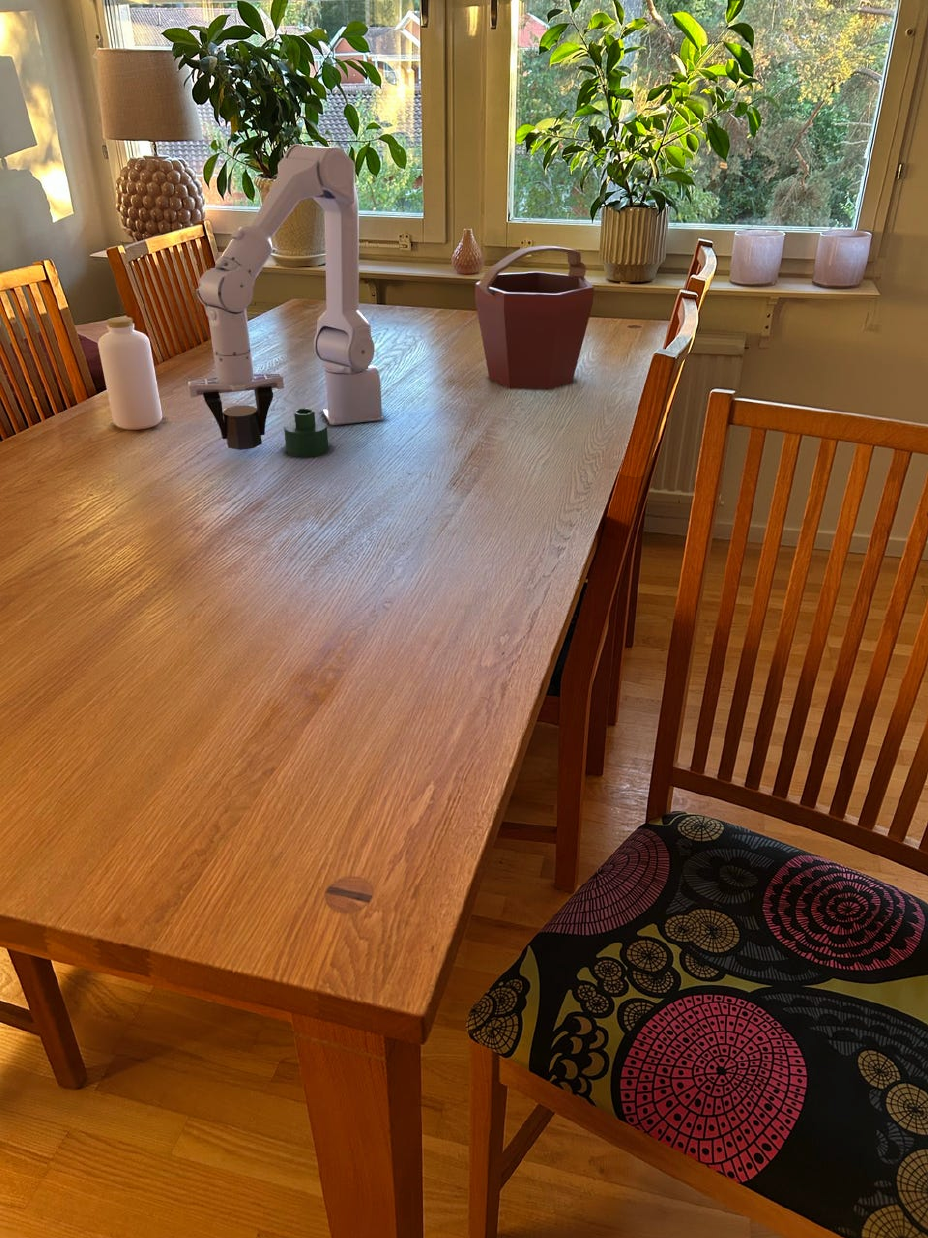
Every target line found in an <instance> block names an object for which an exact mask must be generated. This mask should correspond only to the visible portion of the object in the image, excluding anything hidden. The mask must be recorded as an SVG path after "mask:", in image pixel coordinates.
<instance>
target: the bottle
mask: <svg viewBox="0 0 928 1238" xmlns="http://www.w3.org/2000/svg"><path fill="white" fill-rule="evenodd" d="M293 415H294V420H293V421H290V422H288V423H286V424H285V426H284V427H283V429H284V439H285V449H286V452H287V454H288V455H290V456H293V457H297V458H312V457H318V456H322V455H323V454H326V453H327V452H328V451H329V435H328V425H327V424H326V422H324V421H321V420H318V419H316V413H315V410H314V409H313V408H306V407H303V408H298V409H295V410H294V411H293Z"/></svg>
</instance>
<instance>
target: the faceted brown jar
mask: <svg viewBox="0 0 928 1238" xmlns="http://www.w3.org/2000/svg"><path fill="white" fill-rule="evenodd" d="M223 418H224V424H225V428H226V433H227V439H225V441H226V445H227V448H228V449H232V450H238V451H242V450H250V449H251V450H252V449H255V448H257V447H258V446H261V445H262V443H263V442H262V435H261V433H260V423H259V415H258V412H257V407H255V406H251V405H234V406H230V407H227V408H225V409H224V410H223Z"/></svg>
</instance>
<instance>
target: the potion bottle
mask: <svg viewBox="0 0 928 1238" xmlns="http://www.w3.org/2000/svg"><path fill="white" fill-rule="evenodd" d="M106 323H107V325H106V328H107V330H108V331H107V332H106V333H105V334H103V335H102V336H101V337H100V338H98V341H97V347H98V352H99V357H100V362H101V367H102V372H103V377H104V382H105V388H106V392H107V397H108V402H109V407H110V412H111V413H110V414H111V417H112V421H113V423H114V425H115V426H117V427H118V428H120V429H123V430H126V431H127V430H129V431H139V430H145V429H149V428H153V427H155V426H157V425H158V424H160V422H161V421H162V420H163V412H162V406H161V399H160V395H159V388H158V383H157V378H156V371H155V365H154V360H153V353H152V347H151V343H150V339H149V337H148V336H147V335H146V334H145V333H143V332H141V331H138V330H136V329H135V323H134V322H133V318H132V317H129V316H117V317H111V318H108V319H107V320H106Z"/></svg>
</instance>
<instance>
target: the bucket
mask: <svg viewBox="0 0 928 1238" xmlns="http://www.w3.org/2000/svg"><path fill="white" fill-rule="evenodd" d="M541 252H561V253H566V256H567V263H568V266H569V271H568V274H566V273H565V274H564V273H559V272H558V273H555V272H548V271H540V270H537V271H536V270H535V271H522V272H521V271H520V272H506V273H505V272H504V273H501V272H503V271H505V270H507V269H508V268H510V267H511V266H512V265H514V264H515V263H516V262H519V261H520V260H521V259H523V258H526V257H527V256H529V255H531V254H536V253H541ZM581 255H582V254H581V251H579V250H576V249H572V248H568V247H563V246H553V245H536V246H528V247H524V248H519V249H517V250H516V251H514V252H512V253H510V254H508V255H507V256H505V257H504V258H502V259H501V260H499V261H498V262H497V263H494V264H493V265H492V266H490V267H489V268H488V270H487V271H486V272H485V273H484V275H483V276H482V277H481V279H480V280H479V281H477V282H476V283H474V284H475V285H474V287H475V288H474V300H475V306H476V312H477V317H478V323H479V328H480V334H481V339H482V340H481V341H482V344H483V345H482V346H483V351H484V357H485V361H486V368H487V374H488V378H489V380H490V381H493V382H495V383H497V384H499V385H502V386H504V387H506V388H508V389H518V390H519V389H520V390H542V391H543V390H545V391H546V390H547V391H548V390H552V389H556V388H557V387H562V386H564V385H567V384H571V383H573V381H574V377H575V375H576V369H577V366H578V362H579V358H580V354H581V351H582V348H583V347H582V345H583V343H584V339H585V335H586V331H587V327H588V323H589V320H590V316H591V312H592V308H593V303H594V292H595V286H594V285H593V284H592V283H590V281H588V280H587V279H586V278H585V276H586V271H587V266H586V265H585V263H583V262H582V261H581V260H582V256H581Z"/></svg>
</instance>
